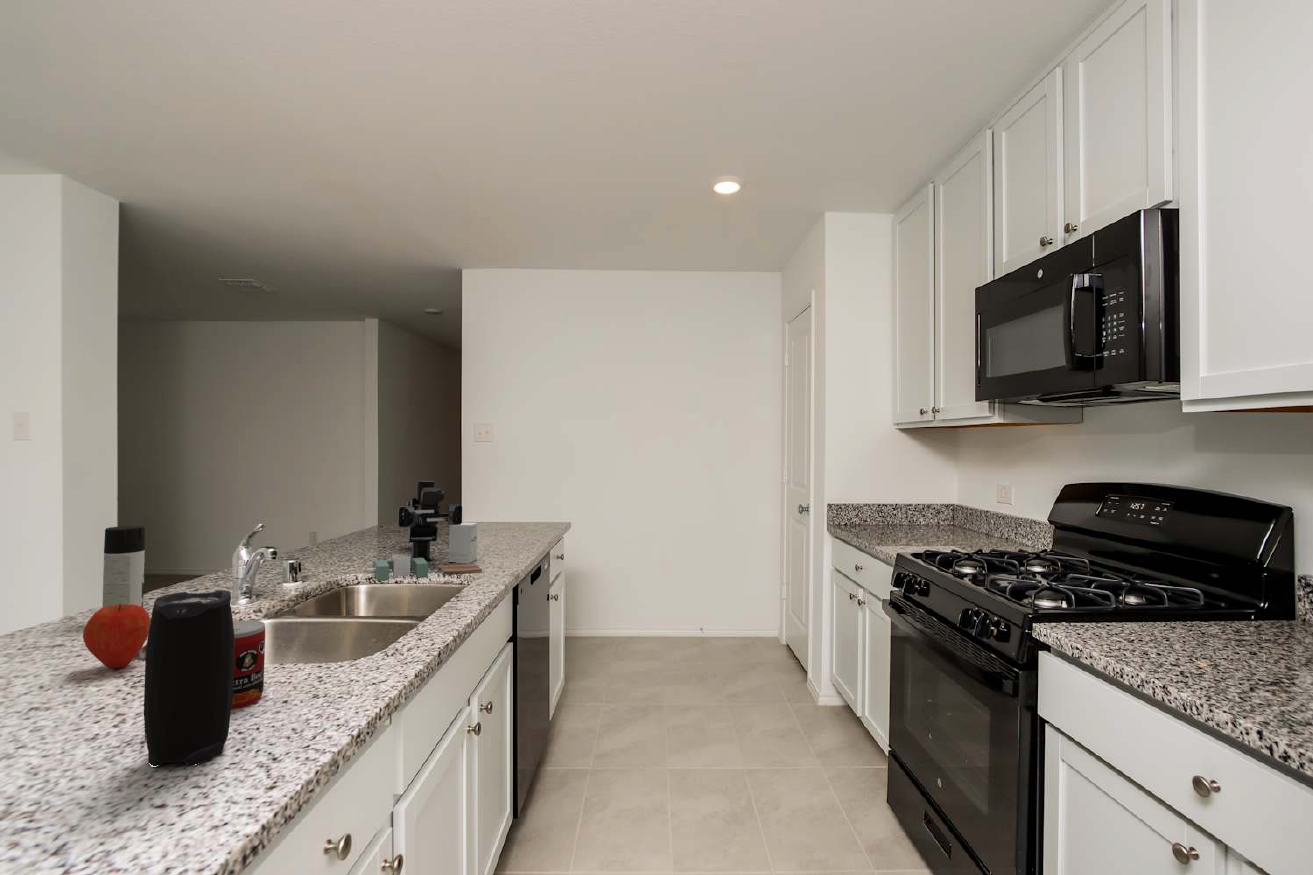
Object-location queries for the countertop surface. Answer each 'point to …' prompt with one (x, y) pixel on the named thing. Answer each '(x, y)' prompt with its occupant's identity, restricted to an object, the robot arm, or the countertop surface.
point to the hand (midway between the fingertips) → (435, 518)
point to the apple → (117, 634)
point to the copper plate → (460, 568)
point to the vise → (383, 568)
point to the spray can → (124, 566)
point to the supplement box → (463, 542)
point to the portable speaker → (189, 677)
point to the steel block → (401, 565)
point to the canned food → (248, 662)
